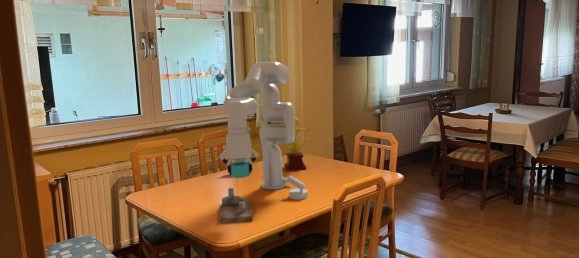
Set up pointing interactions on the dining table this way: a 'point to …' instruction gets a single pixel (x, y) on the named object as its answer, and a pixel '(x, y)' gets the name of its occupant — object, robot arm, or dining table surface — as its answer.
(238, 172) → the collar
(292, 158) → the potted plant
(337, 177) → the dining table surface
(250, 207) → the board
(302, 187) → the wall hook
